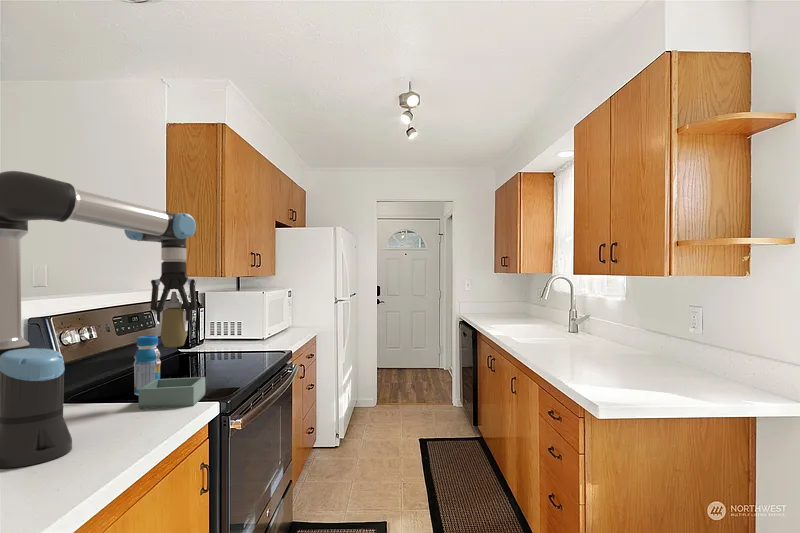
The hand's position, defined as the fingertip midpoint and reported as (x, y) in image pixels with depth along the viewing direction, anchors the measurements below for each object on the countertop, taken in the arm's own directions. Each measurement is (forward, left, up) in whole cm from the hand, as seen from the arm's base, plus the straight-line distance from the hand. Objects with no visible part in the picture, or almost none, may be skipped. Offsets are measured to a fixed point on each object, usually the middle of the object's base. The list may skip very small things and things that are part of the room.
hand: (174, 331), depth 157 cm
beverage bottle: (+15, +13, -23) cm, 30 cm away
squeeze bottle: (0, 0, -5) cm, 5 cm away
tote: (0, 0, -23) cm, 23 cm away
